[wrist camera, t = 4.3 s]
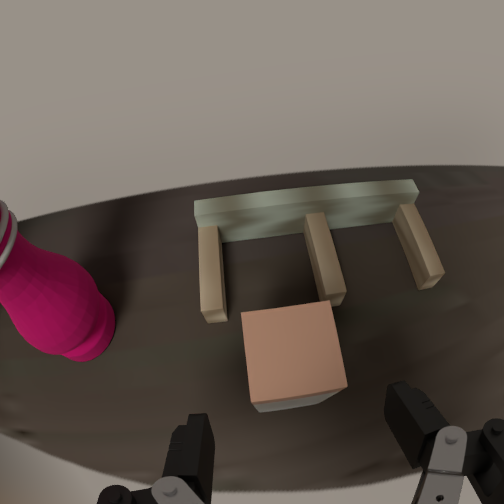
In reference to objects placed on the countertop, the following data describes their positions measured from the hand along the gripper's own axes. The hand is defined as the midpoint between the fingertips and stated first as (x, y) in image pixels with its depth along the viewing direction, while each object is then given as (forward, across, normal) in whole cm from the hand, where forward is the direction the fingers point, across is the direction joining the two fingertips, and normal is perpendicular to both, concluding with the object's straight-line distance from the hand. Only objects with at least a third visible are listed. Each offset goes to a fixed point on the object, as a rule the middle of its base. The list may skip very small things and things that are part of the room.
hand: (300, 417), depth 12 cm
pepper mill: (+12, +16, 0) cm, 20 cm away
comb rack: (+14, -4, -2) cm, 15 cm away
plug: (+8, 0, +4) cm, 8 cm away
